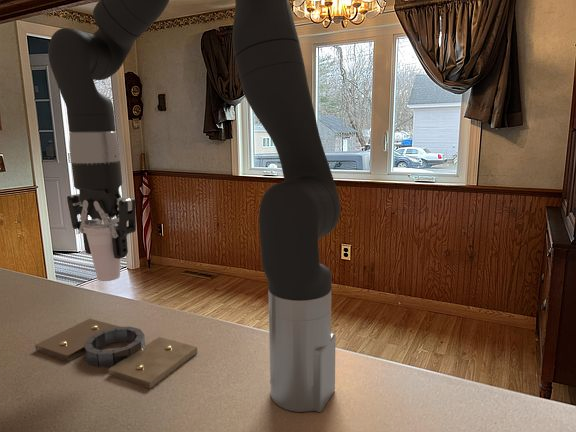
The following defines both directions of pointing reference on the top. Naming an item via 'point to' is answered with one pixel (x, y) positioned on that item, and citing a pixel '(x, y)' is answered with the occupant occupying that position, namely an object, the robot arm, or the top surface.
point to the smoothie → (102, 251)
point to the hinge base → (119, 351)
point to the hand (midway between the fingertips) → (106, 254)
